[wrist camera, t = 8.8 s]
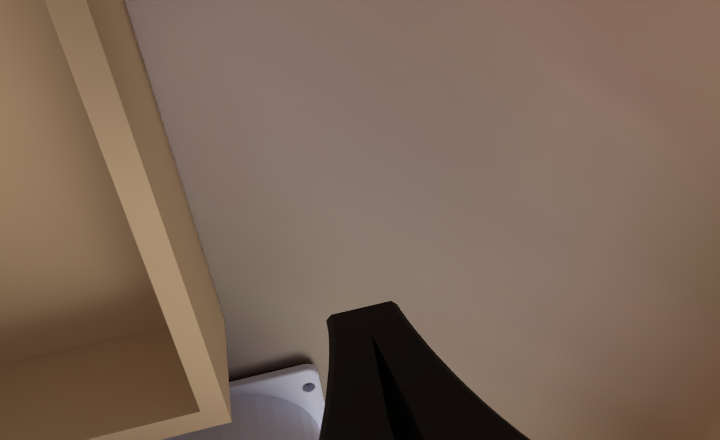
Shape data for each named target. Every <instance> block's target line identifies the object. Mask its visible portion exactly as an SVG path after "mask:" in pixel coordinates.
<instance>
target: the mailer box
mask: <svg viewBox="0 0 720 440" xmlns="http://www.w3.org/2000/svg"><path fill="white" fill-rule="evenodd" d="M230 422H232V419H231V405H230V391H229V377H228V362H227V348H226V334H225V320H224V317H223V313H222V310H221V307H220V304H219V301H218V297H217V294H216V291H215V288H214V285H213V281H212V278H211V275H210V272H209V269H208V265H207V262H206V259H205V256H204V253H203V250H202V246H201V243H200V240H199V237H198V234H197V230H196V227H195V224H194V221H193V218H192V214H191V211H190V208H189V205H188V202H187V199H186V195H185V192H184V189H183V186H182V183H181V179H180V176H179V173H178V170H177V167H176V163H175V160H174V157H173V154H172V151H171V148H170V144H169V141H168V138H167V135H166V132H165V128H164V125H163V122H162V119H161V116H160V112H159V109H158V106H157V103H156V100H155V97H154V93H153V90H152V87H151V84H150V81H149V77H148V74H147V71H146V68H145V65H144V61H143V58H142V55H141V52H140V49H139V46H138V42H137V39H136V36H135V33H134V30H133V26H132V23H131V20H130V17H129V14H128V10H127V7H126V4H125V1H124V0H0V440H162V439H166V438H170V437H174V436H178V435H182V434H186V433H190V432H194V431H198V430H202V429H206V428H210V427H214V426H218V425H222V424H226V423H230Z"/></svg>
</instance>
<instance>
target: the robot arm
mask: <svg viewBox="0 0 720 440" xmlns="http://www.w3.org/2000/svg"><path fill="white" fill-rule="evenodd" d="M326 321H327V326H328V333H329V372H328V381H327V391H326V400H325V402H324V397H323V393H322V388H321V384H320V379H319V375H318V370H317V368H316V367H315V366H314V365H312V364H302V365H298V366H294V367H290V368H286V369H282V370H277V371H273V372H269V373H265V374H261V375H257V376H253V377H249V378H245V379H240V380H236V381H232V382H229V391H230V405H231V419H232V422H230V423H226V424H222V425H218V426H214V427H210V428H206V429H202V430H198V431H194V432H190V433H186V434H182V435H178V436H174V437H170V438H166V439H162V440H530V439H529V438H527V437H526V436H525V435H523V434H522V433H521V432H519V431H518V430H517V429H516V428H514V427H513V426H512V425H511V424H509V423H508V422H507V421H506V420H504V419H503V418H502V417H501V416H500V415H498V414H497V413H496V412H495V411H494V410H493V409H491V408H490V407H489V406H488V405H487V404H486V403H485V402H483V401H482V400H481V399H480V398H479V397H478V396H477V395H476V394H475V393H474V392H473V391H472V390H471V389H470V388H468V387H467V386H466V385H465V384H464V383H463V382H462V381H461V380H460V379H459V378H458V377H457V376H456V375H455V374H454V373H453V372H452V371H451V370H450V368H449V367H448V366H447V365H446V364H445V363H444V362H443V361H442V360H441V359H440V358H439V357H438V356H437V355H436V354H435V352H434V351H433V350H432V349H431V348H430V347H429V346H428V345H427V343H426V342H425V341H424V340H423V339H422V337H421V336H420V335H419V334H418V333H417V331H416V330H415V329H414V328H413V326H412V325H411V324H410V322H409V321H408V320H407V318H406V317H405V316H404V314H403V313H402V311H401V310H400V308H399V307H398V305H397V304H396V303H394V302H392V301H389V302H384V303H380V304H376V305H372V306H367V307H363V308H359V309H354V310H350V311H346V312H342V313H337V314H333V315H331V316H330V317H329V318H328V319H327V320H326ZM306 383H311V384H309V385H304V384H306Z"/></svg>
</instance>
